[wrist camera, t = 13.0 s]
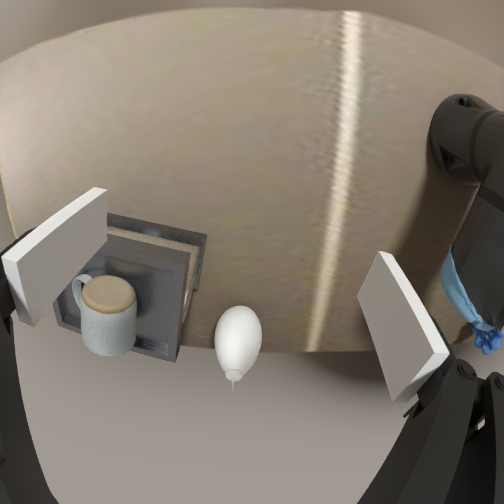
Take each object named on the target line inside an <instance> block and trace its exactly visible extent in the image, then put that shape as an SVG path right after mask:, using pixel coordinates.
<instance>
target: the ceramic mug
mask: <svg viewBox="0 0 504 504" xmlns="http://www.w3.org/2000/svg"><path fill="white" fill-rule="evenodd" d="M82 282H83V283H84V284H85V285H84V287H83V289H81V286H82ZM72 290H73V295H74V298H75V301H76V303H77V305H78V307H79V308H80V310H81V332H82V338H83V341H84V343H85V345H86V346H87V347H88V348H89V349H90V350H91V351H92V352H94V353H96V354H98V355H101V356H104V357H117V356H120V355H123V354H125V353H127V352H128V351H129V350H131V348H132V347H133V345H134V343H135V341H136V314H137V299H136V293H135V290H134V288H133V287H132V286H131V285H130V284H129V283H128V282H127V281H125V280H124V279H122V278H119V277H116V276H110V275H103V276H98V277H95V278H92V277H91V276H89V275H87V274H82V275H79V276H77V277H76V278H75V279H74V280H73V283H72Z"/></svg>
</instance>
